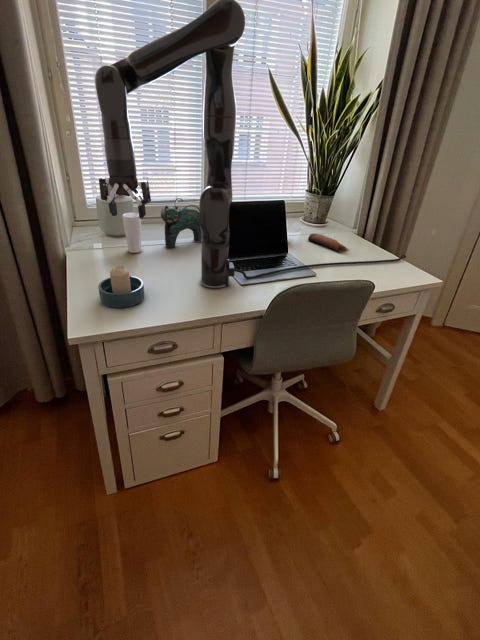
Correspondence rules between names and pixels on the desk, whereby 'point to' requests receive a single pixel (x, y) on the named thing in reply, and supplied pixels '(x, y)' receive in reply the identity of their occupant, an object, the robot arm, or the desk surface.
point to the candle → (120, 280)
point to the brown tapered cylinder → (327, 242)
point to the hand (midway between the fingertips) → (128, 216)
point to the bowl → (124, 298)
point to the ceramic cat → (180, 223)
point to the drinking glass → (132, 231)
